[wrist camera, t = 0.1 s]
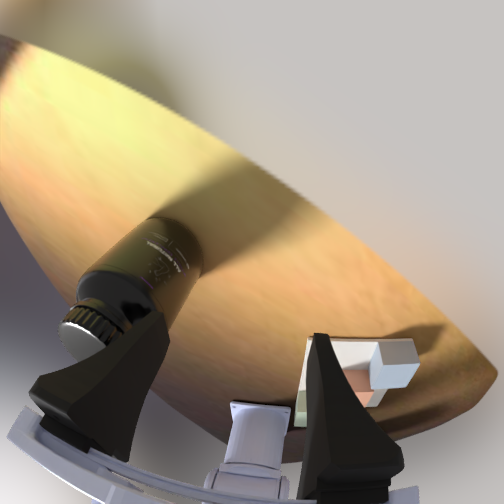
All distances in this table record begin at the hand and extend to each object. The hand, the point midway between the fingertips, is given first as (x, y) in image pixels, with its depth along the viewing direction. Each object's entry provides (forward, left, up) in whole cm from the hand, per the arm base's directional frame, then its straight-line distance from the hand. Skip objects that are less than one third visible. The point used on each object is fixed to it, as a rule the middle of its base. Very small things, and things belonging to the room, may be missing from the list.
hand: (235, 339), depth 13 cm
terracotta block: (-16, -10, -10) cm, 21 cm away
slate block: (-12, -13, -10) cm, 20 cm away
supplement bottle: (-1, +8, -10) cm, 13 cm away
